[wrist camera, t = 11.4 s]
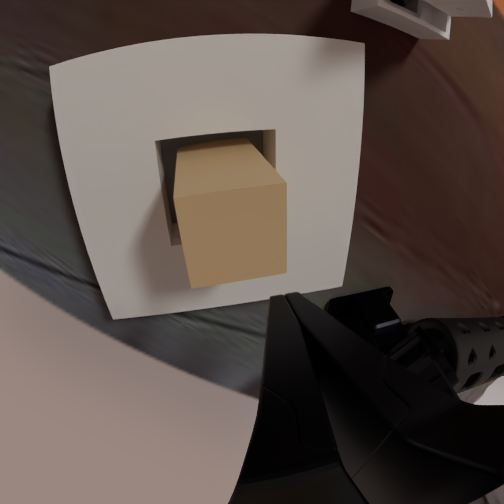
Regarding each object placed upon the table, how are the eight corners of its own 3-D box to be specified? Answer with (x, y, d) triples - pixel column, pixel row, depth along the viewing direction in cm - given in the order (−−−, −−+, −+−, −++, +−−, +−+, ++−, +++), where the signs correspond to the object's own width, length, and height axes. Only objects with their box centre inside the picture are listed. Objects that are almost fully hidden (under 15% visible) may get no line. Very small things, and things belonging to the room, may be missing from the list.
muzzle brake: (422, 291, 29) (478, 361, 21) (513, 300, 38) (547, 339, 30) (379, 354, 34) (418, 422, 25) (483, 342, 43) (513, 381, 34)
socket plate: (326, 262, 24) (342, 286, 22) (118, 291, 22) (113, 319, 19) (339, 45, 15) (364, 43, 13) (69, 66, 13) (49, 66, 11)
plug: (250, 198, 20) (286, 273, 13) (187, 207, 19) (191, 288, 13) (246, 137, 18) (286, 182, 11) (177, 146, 17) (173, 198, 10)
